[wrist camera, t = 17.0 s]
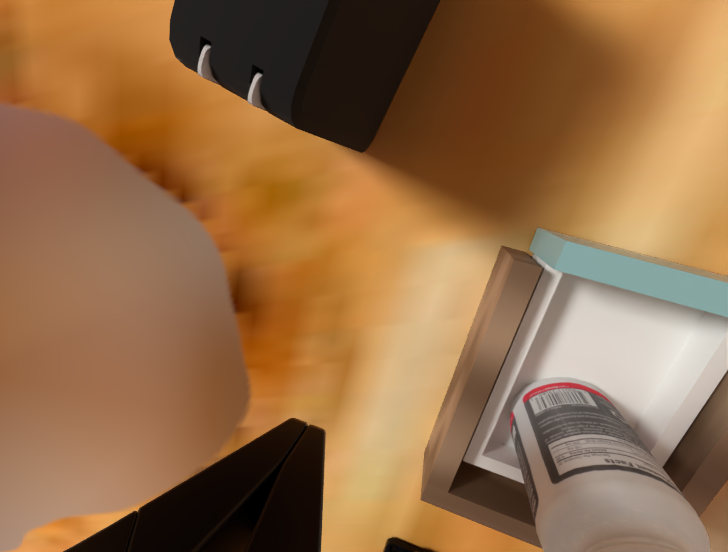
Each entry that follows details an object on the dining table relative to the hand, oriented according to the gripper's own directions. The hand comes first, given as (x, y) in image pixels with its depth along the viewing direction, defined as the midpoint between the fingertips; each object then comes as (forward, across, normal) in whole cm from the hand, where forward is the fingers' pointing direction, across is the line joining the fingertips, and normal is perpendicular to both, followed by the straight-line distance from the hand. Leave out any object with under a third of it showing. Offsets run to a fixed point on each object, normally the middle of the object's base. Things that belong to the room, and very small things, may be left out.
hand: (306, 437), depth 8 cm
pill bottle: (+12, -11, +4) cm, 17 cm away
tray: (+13, -11, +1) cm, 17 cm away
